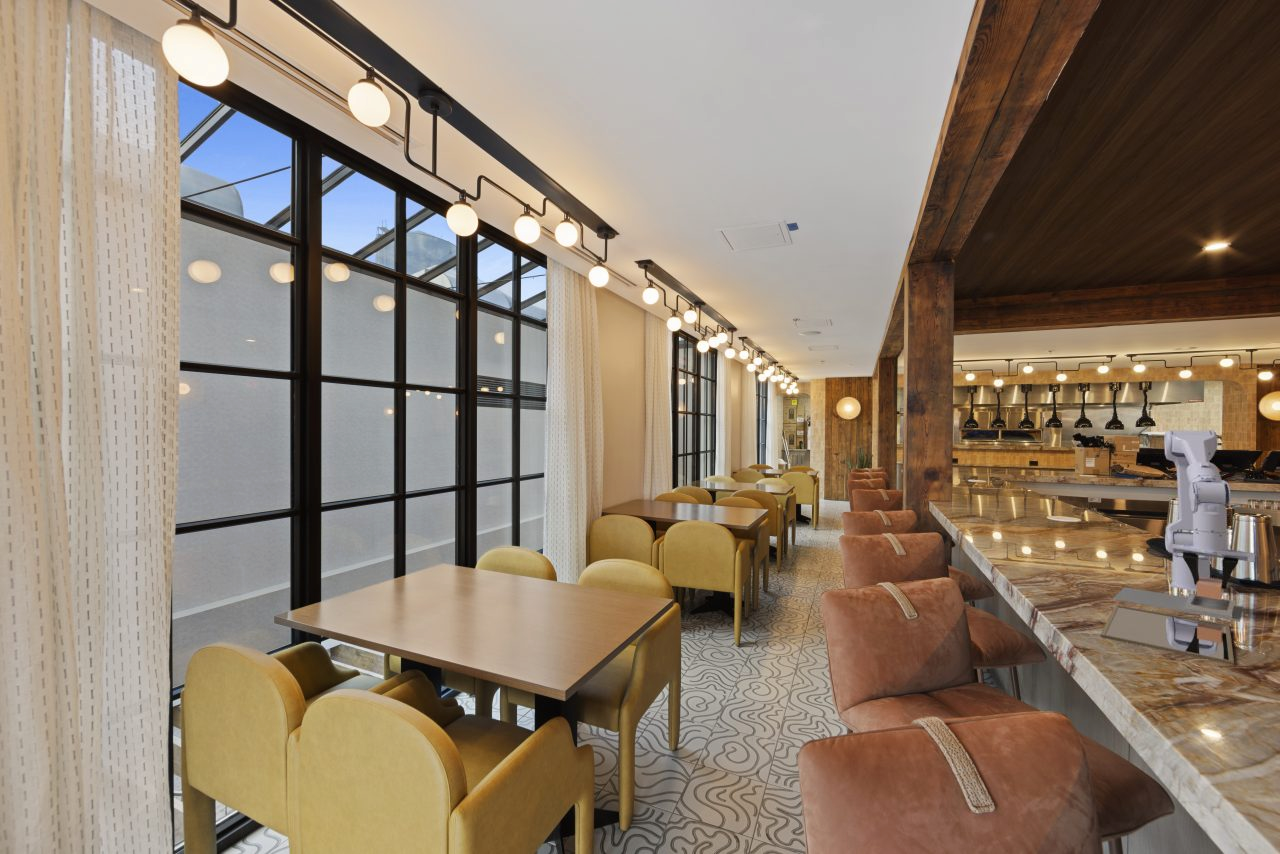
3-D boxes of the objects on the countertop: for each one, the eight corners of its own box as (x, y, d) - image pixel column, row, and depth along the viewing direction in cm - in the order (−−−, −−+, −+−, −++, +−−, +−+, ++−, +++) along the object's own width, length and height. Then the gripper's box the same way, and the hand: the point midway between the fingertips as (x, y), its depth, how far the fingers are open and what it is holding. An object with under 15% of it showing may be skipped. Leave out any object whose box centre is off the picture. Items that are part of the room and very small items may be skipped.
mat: (1124, 588, 150) (1124, 587, 150) (1242, 607, 133) (1242, 606, 133) (1112, 599, 140) (1112, 598, 140) (1239, 622, 123) (1239, 621, 123)
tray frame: (1191, 599, 139) (1191, 593, 139) (1235, 606, 133) (1235, 600, 133) (1185, 610, 131) (1185, 604, 131) (1232, 618, 125) (1231, 612, 125)
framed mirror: (1234, 667, 101) (1229, 629, 120) (1234, 662, 101) (1229, 624, 120) (1100, 639, 115) (1115, 608, 134) (1100, 634, 115) (1115, 604, 134)
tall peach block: (1196, 595, 130) (1196, 583, 130) (1200, 588, 136) (1200, 576, 136) (1220, 599, 127) (1220, 587, 127) (1223, 592, 133) (1223, 580, 133)
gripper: (1166, 528, 135) (1166, 582, 135) (1253, 537, 124) (1254, 596, 124) (1170, 525, 139) (1170, 577, 139) (1254, 533, 128) (1255, 590, 128)
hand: (1210, 586), depth 132 cm, fingers closed on tall peach block, 4 cm apart
